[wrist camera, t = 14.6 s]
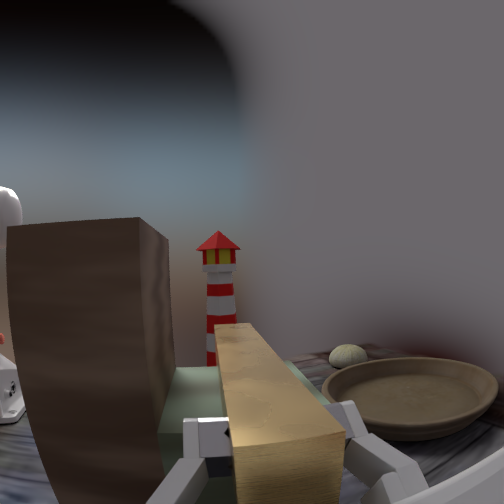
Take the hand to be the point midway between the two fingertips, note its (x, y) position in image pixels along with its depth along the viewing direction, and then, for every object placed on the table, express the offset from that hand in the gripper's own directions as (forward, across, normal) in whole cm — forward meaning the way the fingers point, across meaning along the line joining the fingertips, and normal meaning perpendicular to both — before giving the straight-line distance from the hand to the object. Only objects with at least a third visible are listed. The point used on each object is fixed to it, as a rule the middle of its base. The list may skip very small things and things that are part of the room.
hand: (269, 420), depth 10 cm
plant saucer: (+18, -30, +33) cm, 48 cm away
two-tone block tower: (0, +4, +22) cm, 22 cm away
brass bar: (+5, 0, +5) cm, 7 cm away
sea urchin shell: (+41, -30, +46) cm, 69 cm away
